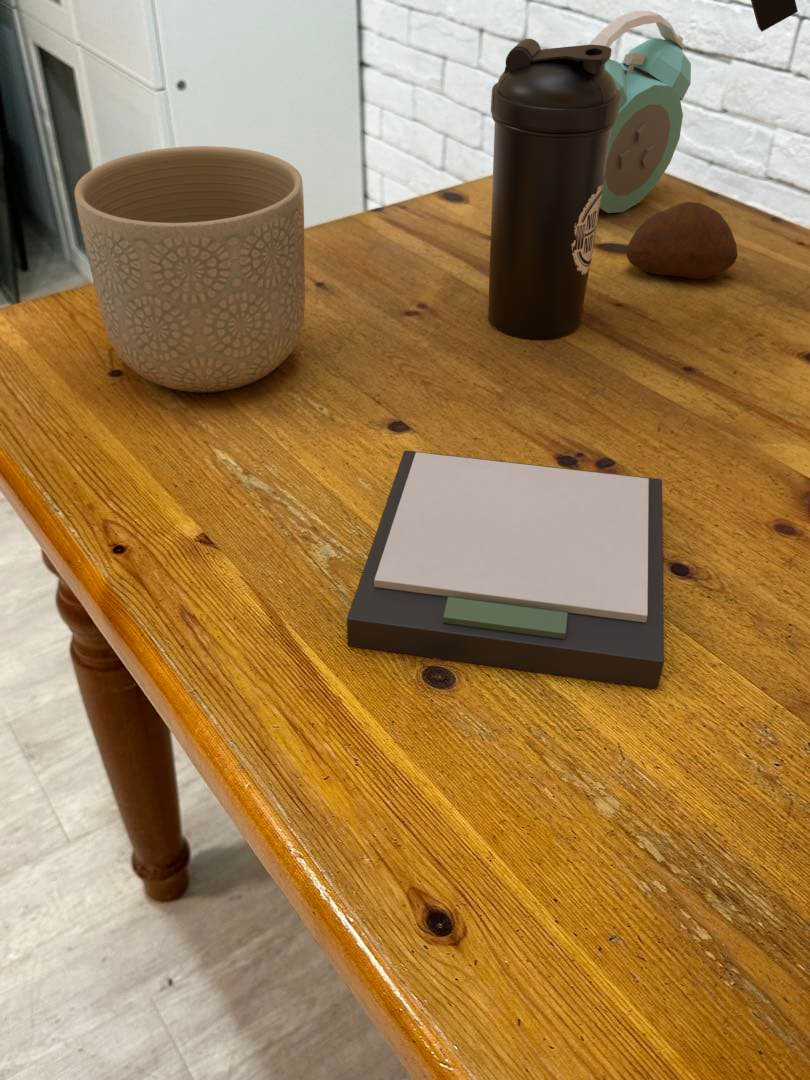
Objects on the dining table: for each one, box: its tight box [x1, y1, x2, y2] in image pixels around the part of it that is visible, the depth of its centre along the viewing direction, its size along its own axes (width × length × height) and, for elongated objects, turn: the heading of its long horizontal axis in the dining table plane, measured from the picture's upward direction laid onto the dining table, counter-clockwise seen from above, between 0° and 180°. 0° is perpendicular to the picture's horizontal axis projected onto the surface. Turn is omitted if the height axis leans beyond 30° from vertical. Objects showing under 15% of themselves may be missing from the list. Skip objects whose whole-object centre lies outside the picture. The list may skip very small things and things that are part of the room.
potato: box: [625, 201, 738, 280], centre depth 101 cm, size 7×10×7 cm
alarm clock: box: [588, 10, 692, 214], centre depth 112 cm, size 17×10×20 cm, turn 130°
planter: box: [74, 145, 306, 393], centre depth 83 cm, size 17×17×15 cm
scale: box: [346, 450, 665, 690], centre depth 66 cm, size 18×18×3 cm
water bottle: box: [487, 38, 621, 341], centre depth 88 cm, size 10×10×23 cm
